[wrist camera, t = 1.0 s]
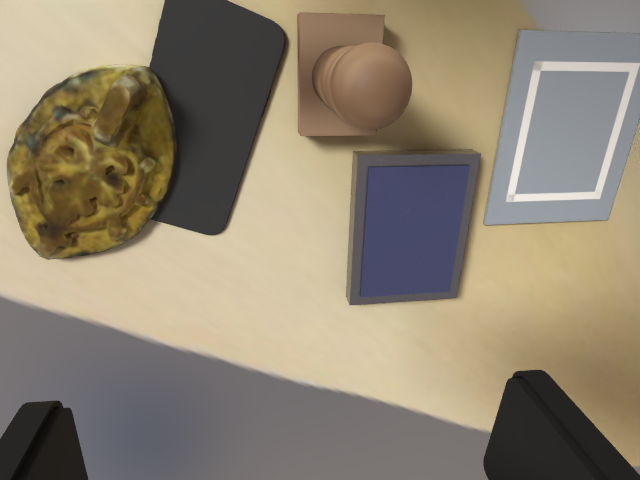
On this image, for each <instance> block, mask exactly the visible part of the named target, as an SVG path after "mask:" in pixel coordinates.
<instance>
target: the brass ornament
mask: <svg viewBox="0 0 640 480" xmlns="http://www.w3.org/2000/svg"><path fill="white" fill-rule="evenodd" d="M176 156H177V143H176V132H175V126H174V121H173V116H172V113H171V110H170V107H169V104H168V101H167V98H166V96H165V94H164V91H163V89H162V87H161V85H160V83H159V81H158V79H157V77H156V75H155V73H154V72H153V71H152V70H151V69H150V68H149V67H145V66H135V65H108V66H101V67H96V68H91V69H88V70H85V71H82V72H79V73H76V74H74V75H72V76H70V77H69V78H67V79H66V80H64V81H63V82H61V83H58V84H56V85H55V86H53V87H52V88H50V89H49V90H48V91H47V92H46V93H45V94H44V95H43V96H42V98H41V99H40V101H39V103H38V104H37V105H36V106H35V107H34V108H33V110H32V111H31V113H30V114H29V116H28V117H27V119H26V120H25V121H24V122H23V123H22V124H21V125H20V127H19V128H18V130H17V132H16V135H15V139H14V144H13V146H12V147H11V149H10V151H9V155H8V159H7V179H8V185H9V190H10V198H11V201H12V204H13V207H14V209H15V212H16V217H17V219H18V222H19V225H20V228H21V230H22V232H23V234H24V236H25V238H26V240H27V241H28V243H29V244H30V246H31V247H32V248H33V249H34V250H35V251H36V252H37V253H38V254H39V255H40V256H41V257H43V258H45V259H59V258H70V257H73V256H83V255H89V254H93V253H98V252H102V251H105V250H108V249H110V248H113V247H115V246H118V245H121V244H123V243H125V242H127V241H129V240H130V239H132V238H133V237H134V236H135V235H137V234H138V233H139V232H140V231H141V229H142V228H143V227H144V226H145V224H146V223H147V222H148V221H149V220H150V219H151V217H152V216H153V215H154V213H155V212H156V211H157V209H158V207H159V205H160V204H161V203H162V201H163V200H164V198H165V196H166V194H167V192H168V191H169V188H170V184H171V181H172V178H173V174H174V170H175V164H176Z"/></svg>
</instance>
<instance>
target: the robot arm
mask: <svg viewBox="0 0 640 480" xmlns="http://www.w3.org/2000/svg"><path fill="white" fill-rule="evenodd" d="M484 470H485V473H486V475H487V477H488V479H489V480H640V475H639V474H638V473H637V472H636V471H635V470H634V468H633V467H632V466H631V465H630V464H629V463H628V462H627V461H626V460H625V458H624V457H623V456H622V455H621V454H620V453H619V452H618V451H617V450H616V449H615V447H614V446H613V445H612V444H611V443H610V442H609V441H608V440H607V439H606V438H605V436H604V435H603V434H602V433H601V432H600V431H599V430H598V429H597V428H596V427H595V425H594V424H593V423H592V422H591V421H590V420H589V419H588V418H587V417H586V416H585V414H584V413H583V412H582V411H581V410H580V409H579V408H578V407H577V406H576V405H575V403H574V402H573V401H572V400H571V399H570V398H569V397H568V396H567V395H566V393H565V392H564V391H563V390H562V389H561V388H560V387H559V386H558V385H557V384H556V382H555V381H554V380H553V379H552V378H551V377H550V376H549V375H548V374H547V373H546V372H545V371H543V370H529V371H516V372H515V373H514V374H513V376H512V378H510V379H508V381H507V383H506V386H505V390H504V393H503V396H502V400H501V403H500V406H499V410H498V413H497V416H496V420H495V423H494V426H493V429H492V433H491V436H490V440H489V443H488V446H487V450H486V453H485V456H484ZM0 480H88V476H87V472H86V468H85V464H84V460H83V456H82V451H81V447H80V443H79V439H78V435H77V431H76V426H75V423H74V418H73V414H72V411H71V409H70V408H63V406H62V403H61V402H60V401H45V402H29V403H25V404H24V405H22V407H21V408H20V409H19V410H18V412H17V413H16V415H15V417H14V418H13V420H12V421H11V423H10V424H9V426H8V428H7V429H6V431H5V433H4V434H3V436H2V437H1V439H0Z"/></svg>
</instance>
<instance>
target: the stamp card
mask: <svg viewBox="0 0 640 480" xmlns="http://www.w3.org/2000/svg"><path fill="white" fill-rule="evenodd" d="M639 119H640V33H609V32H575V31H574V32H573V31H539V30H519V32H518V37H517V43H516V48H515V54H514V59H513V64H512V70H511V75H510V81H509V86H508V91H507V97H506V102H505V108H504V113H503V118H502V124H501V129H500V135H499V140H498V145H497V151H496V156H495V162H494V167H493V172H492V178H491V183H490V189H489V194H488V200H487V205H486V210H485V216H484V221H483V224H484V225H495V224H519V223H543V222H568V221H592V220H608V218H609V215H610V212H611V208H612V205H613V202H614V199H615V196H616V192H617V189H618V186H619V183H620V180H621V176H622V173H623V170H624V167H625V164H626V160H627V157H628V154H629V151H630V147H631V144H632V141H633V138H634V135H635V131H636V128H637V125H638V122H639Z"/></svg>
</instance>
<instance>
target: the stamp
mask: <svg viewBox="0 0 640 480" xmlns="http://www.w3.org/2000/svg"><path fill="white" fill-rule="evenodd" d="M384 16H385V15H366V14H334V13H302V12H300V13H299V14H297V21H298V133H299V134H300V136H348V135H376V131H377V129H379V128H382V127H385V126H387V125H389V124H391V123H392V122H394V121H395V120H396V119H397V118H398V117H399V116H400V115H401V114H402V113H403V111H404V110H405V108H406V106H407V105H408V102H409V100H410V96H411V92H412V77H411V72H410V69H409V67H408V65H407V63H406V61H405V60H404V58H403V57H402V56H401V55H400V54H399V53H398V52H397V51H396V50H395V49H393V48H391V47H390V46H387V45H385V44H383V30H384Z"/></svg>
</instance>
